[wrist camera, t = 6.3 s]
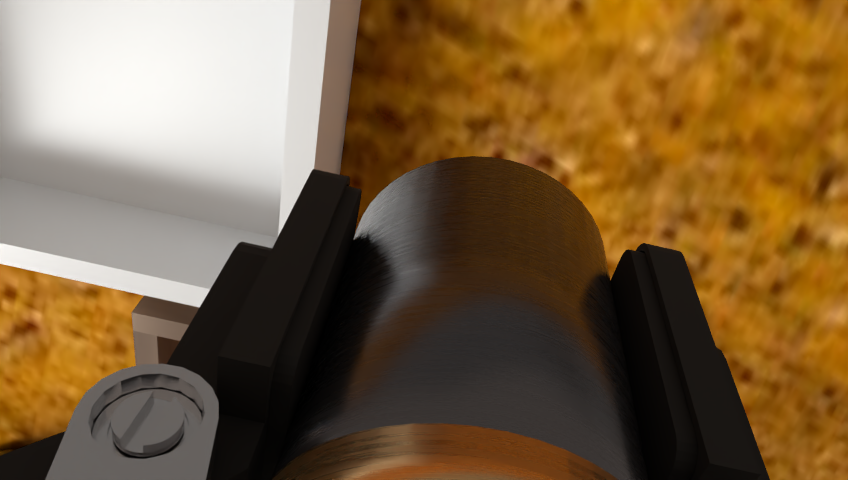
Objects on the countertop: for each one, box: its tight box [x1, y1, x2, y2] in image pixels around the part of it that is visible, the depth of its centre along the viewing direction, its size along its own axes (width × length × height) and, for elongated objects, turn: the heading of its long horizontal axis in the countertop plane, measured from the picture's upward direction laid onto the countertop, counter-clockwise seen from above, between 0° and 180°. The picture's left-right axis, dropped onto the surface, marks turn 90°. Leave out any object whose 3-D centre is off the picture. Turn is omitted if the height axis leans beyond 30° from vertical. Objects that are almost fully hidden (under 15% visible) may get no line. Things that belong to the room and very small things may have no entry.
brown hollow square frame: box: [132, 295, 200, 366], centre depth 34 cm, size 18×18×4 cm
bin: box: [0, 0, 361, 307], centre depth 24 cm, size 16×16×5 cm
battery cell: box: [271, 156, 648, 480], centre depth 8 cm, size 4×4×8 cm
